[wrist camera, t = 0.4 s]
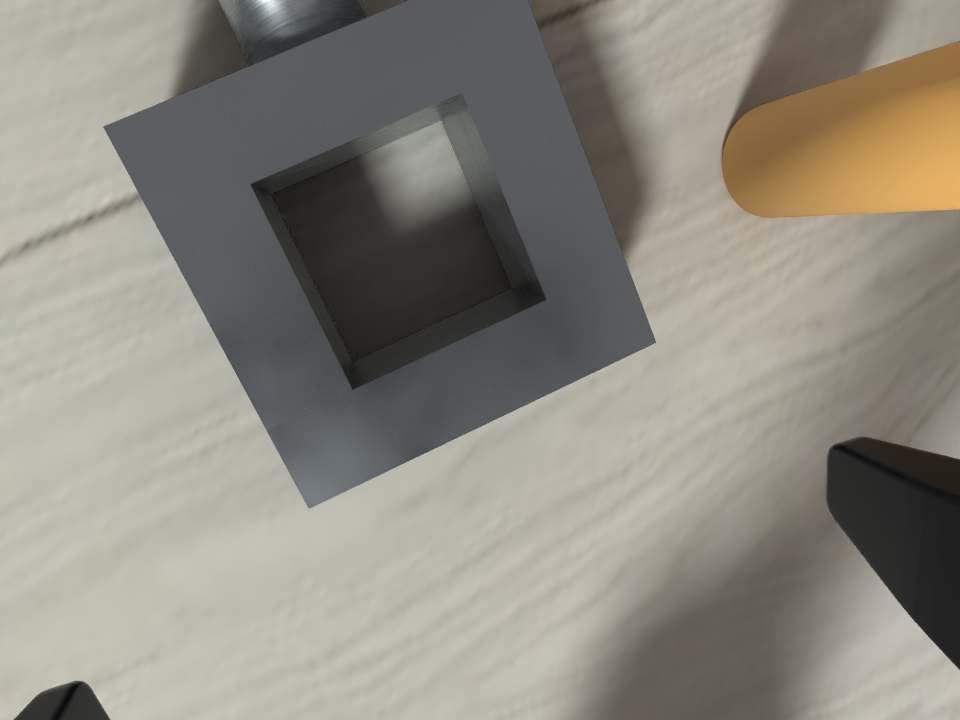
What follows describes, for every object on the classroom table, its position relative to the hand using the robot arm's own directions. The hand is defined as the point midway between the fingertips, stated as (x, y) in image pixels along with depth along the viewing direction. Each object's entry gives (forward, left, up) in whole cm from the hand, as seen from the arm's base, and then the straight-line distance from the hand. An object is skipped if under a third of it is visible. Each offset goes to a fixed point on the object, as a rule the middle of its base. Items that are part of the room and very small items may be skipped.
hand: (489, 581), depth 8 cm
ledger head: (+8, -1, -14) cm, 16 cm away
